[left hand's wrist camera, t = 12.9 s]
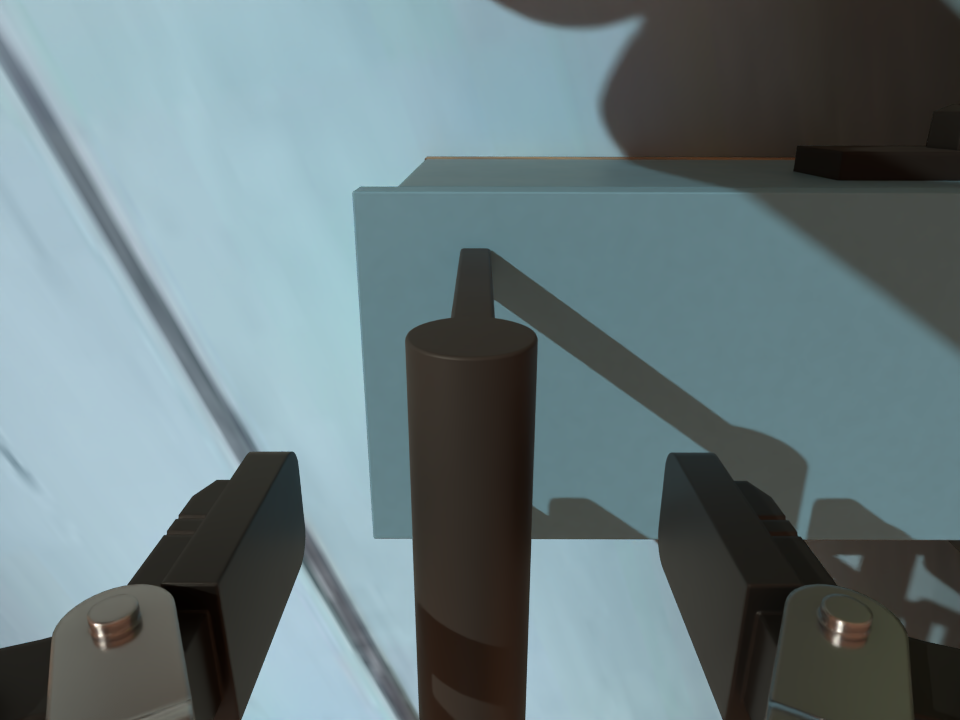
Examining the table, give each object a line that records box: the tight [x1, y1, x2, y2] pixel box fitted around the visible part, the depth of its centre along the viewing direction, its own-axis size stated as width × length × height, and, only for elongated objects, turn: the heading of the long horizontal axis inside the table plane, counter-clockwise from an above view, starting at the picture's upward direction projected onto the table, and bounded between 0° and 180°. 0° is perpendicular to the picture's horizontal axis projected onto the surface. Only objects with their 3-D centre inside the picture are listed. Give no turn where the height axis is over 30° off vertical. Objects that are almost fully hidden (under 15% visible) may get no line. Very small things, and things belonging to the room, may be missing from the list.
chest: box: [398, 157, 960, 188], centre depth 23 cm, size 16×9×10 cm, turn 90°
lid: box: [352, 187, 960, 720], centre depth 14 cm, size 16×9×9 cm, turn 90°
